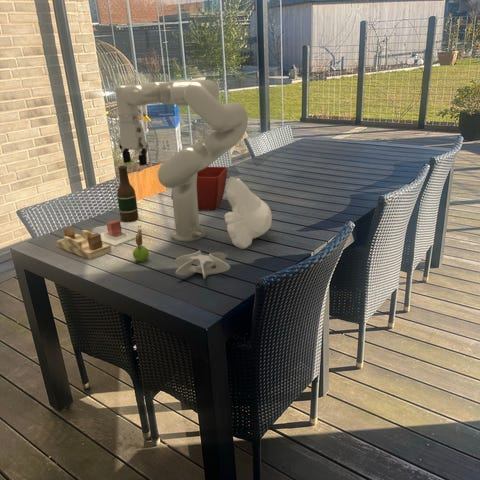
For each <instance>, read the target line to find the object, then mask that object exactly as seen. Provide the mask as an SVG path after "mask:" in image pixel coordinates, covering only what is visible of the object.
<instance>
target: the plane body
mask: <svg viewBox="0 0 480 480" xmlns="http://www.w3.org/2000/svg"><path fill="white" fill-rule="evenodd" d="M63 233H64V234H63V235H64V236H63V238H61V239H58V240H56V244H57V245H56V246H57V248H58V249H59V248H60V249H62V250H65V251H67V252H69V253H72V254H74V255H78V256H79V257H82V258H85V259H87V260H90V261H91V260H94V259H96V258H99V257H102V256H103V255H104V256H105V255H107V254H109V253H112V245H109V244H106V243H103V242H102V240H101V233H98V232H92V231H89V230H87V229H82V232H81V233H82V235H80V234H78V233H75V229H74V227H66V228H64V229H63Z"/></svg>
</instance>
